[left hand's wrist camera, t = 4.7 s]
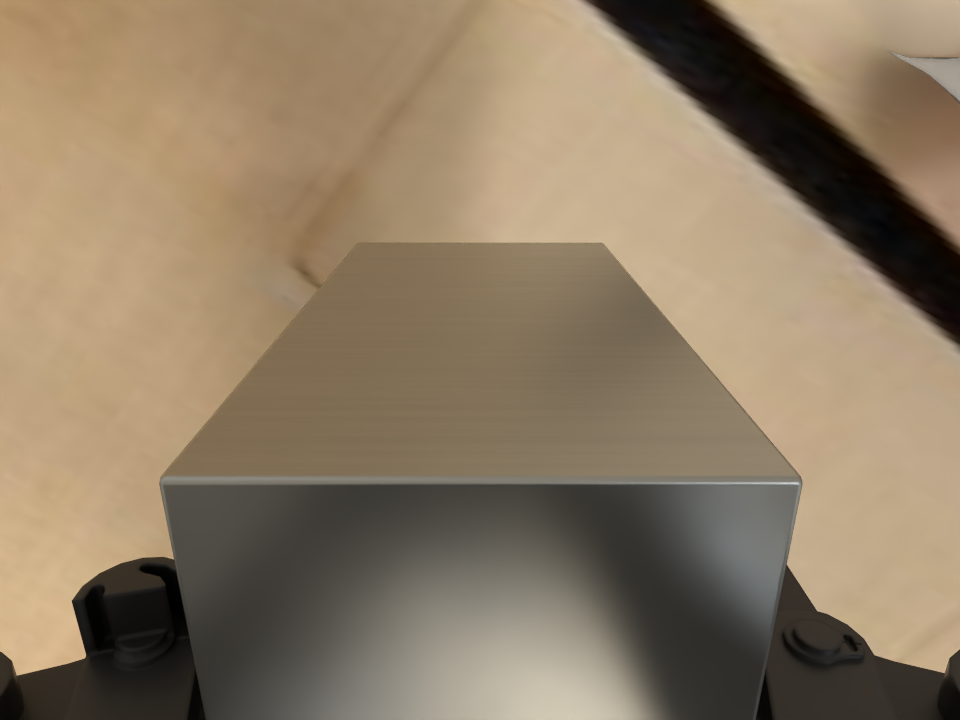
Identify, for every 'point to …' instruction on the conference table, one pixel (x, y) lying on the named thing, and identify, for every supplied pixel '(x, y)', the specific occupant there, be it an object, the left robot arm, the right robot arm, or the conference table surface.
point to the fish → (939, 71)
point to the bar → (480, 504)
